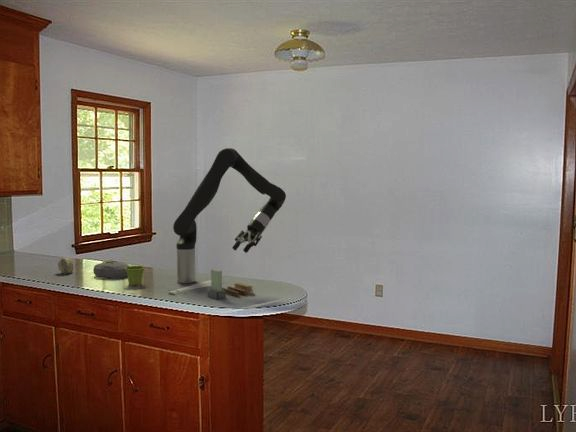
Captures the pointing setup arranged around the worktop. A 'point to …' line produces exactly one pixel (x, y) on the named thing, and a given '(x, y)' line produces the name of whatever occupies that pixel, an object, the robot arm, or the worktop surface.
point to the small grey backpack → (111, 270)
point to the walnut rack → (235, 292)
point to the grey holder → (216, 294)
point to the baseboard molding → (193, 287)
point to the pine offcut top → (243, 286)
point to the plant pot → (135, 274)
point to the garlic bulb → (65, 265)
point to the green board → (216, 280)
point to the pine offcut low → (246, 291)
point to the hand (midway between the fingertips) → (239, 250)
